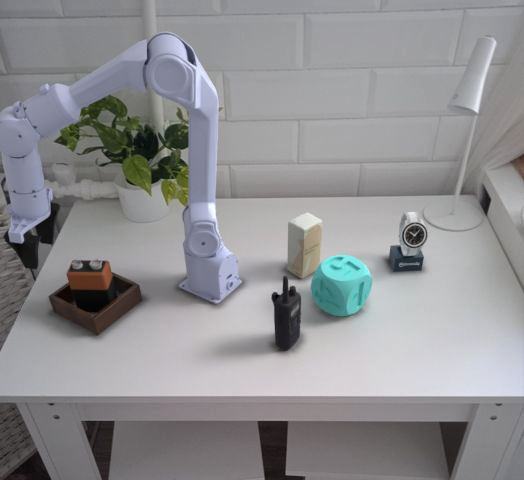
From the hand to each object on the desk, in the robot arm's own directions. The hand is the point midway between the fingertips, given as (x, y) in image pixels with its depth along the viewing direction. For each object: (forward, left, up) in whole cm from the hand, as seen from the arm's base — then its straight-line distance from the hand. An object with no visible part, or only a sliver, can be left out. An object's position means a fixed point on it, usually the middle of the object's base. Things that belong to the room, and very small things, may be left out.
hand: (39, 254), depth 109 cm
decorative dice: (-45, -29, -11) cm, 54 cm away
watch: (-50, -46, -11) cm, 69 cm away
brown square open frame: (-8, -3, -11) cm, 14 cm away
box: (-34, -34, -11) cm, 49 cm away
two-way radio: (-42, -15, -11) cm, 46 cm away
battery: (-8, -3, -11) cm, 14 cm away
